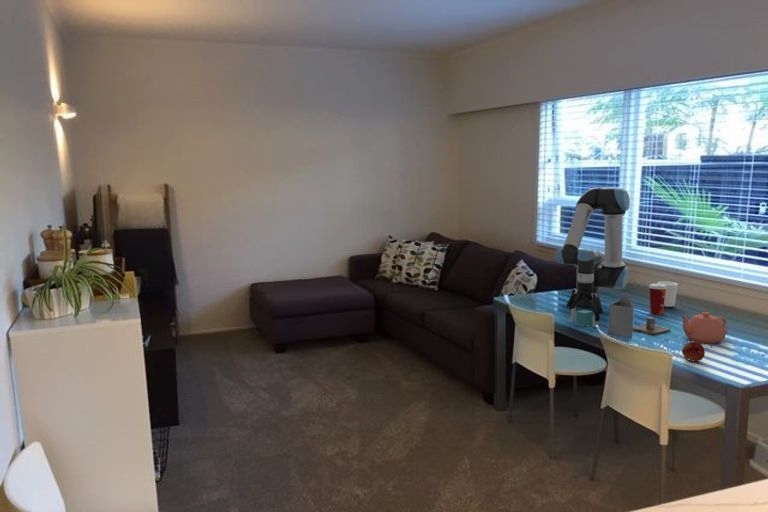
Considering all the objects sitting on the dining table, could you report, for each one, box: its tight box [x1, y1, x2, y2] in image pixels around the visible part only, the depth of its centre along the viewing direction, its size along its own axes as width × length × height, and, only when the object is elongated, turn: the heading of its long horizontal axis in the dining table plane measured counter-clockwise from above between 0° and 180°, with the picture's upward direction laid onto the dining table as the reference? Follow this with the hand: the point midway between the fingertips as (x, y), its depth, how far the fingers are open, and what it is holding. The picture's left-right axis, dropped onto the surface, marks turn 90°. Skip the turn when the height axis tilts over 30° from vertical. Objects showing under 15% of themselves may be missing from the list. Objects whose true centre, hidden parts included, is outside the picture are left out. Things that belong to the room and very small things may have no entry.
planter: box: [608, 291, 634, 339], centre depth 273 cm, size 16×8×19 cm, turn 178°
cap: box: [575, 309, 593, 327], centre depth 288 cm, size 5×5×7 cm
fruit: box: [681, 341, 706, 362], centre depth 234 cm, size 8×8×8 cm
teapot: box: [680, 311, 728, 344], centre depth 260 cm, size 22×16×12 cm
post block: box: [633, 316, 671, 336], centre depth 276 cm, size 12×12×6 cm
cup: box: [657, 281, 679, 309], centre depth 320 cm, size 10×10×13 cm
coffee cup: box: [649, 283, 667, 316], centre depth 306 cm, size 8×8×15 cm
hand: (584, 324), depth 289 cm, fingers open, 13 cm apart
